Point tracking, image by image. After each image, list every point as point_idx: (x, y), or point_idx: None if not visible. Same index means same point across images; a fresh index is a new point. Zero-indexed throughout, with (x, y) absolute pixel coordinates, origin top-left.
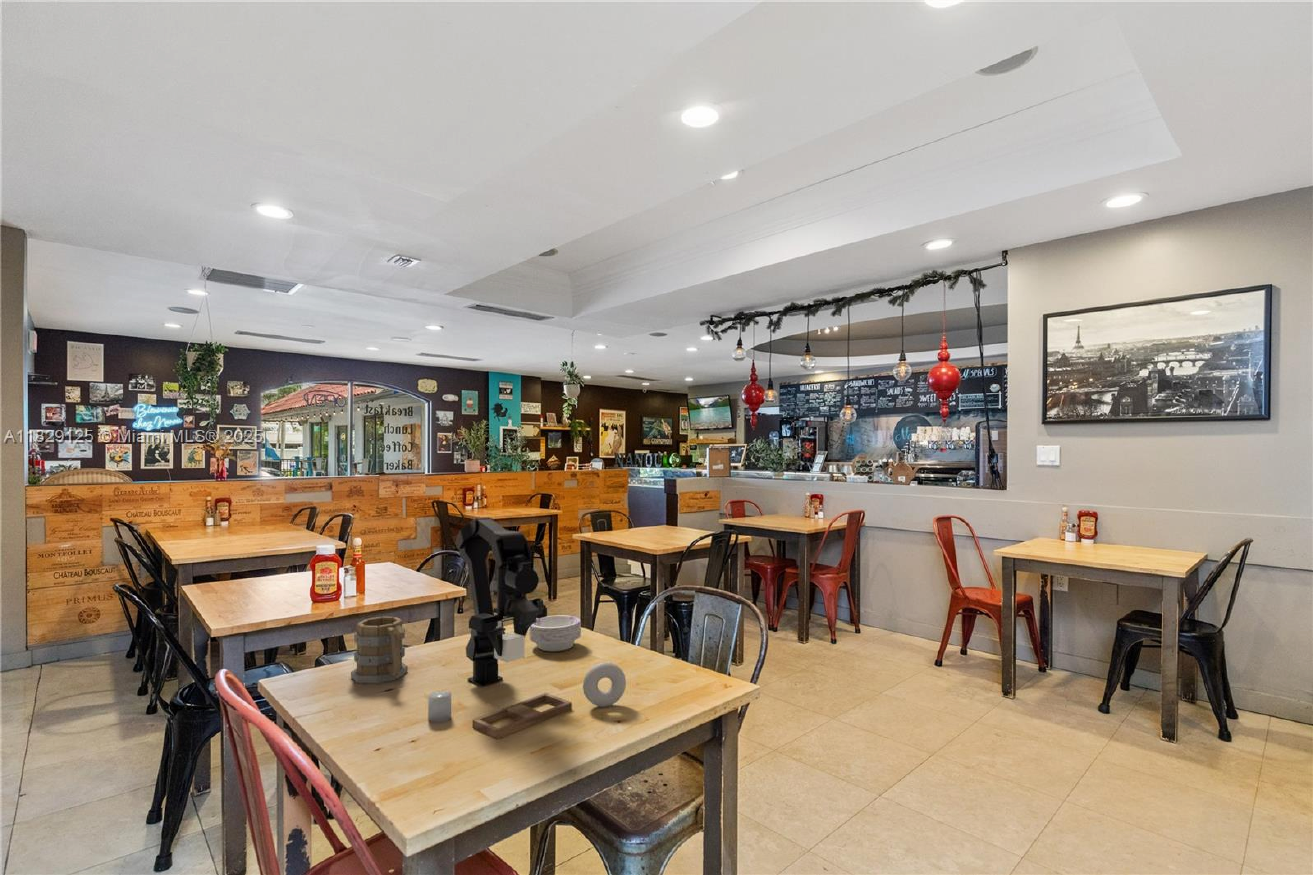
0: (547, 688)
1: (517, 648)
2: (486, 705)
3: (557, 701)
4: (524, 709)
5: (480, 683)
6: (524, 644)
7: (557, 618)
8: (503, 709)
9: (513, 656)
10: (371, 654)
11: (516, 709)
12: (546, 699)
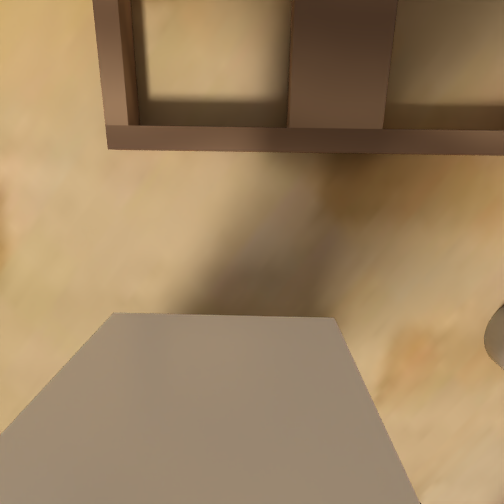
0: (42, 250)
1: (177, 391)
2: (338, 298)
3: (122, 15)
4: (328, 48)
5: None
6: (26, 409)
7: None
8: (391, 141)
9: (253, 338)
10: None
11: (353, 85)
12: (135, 118)
